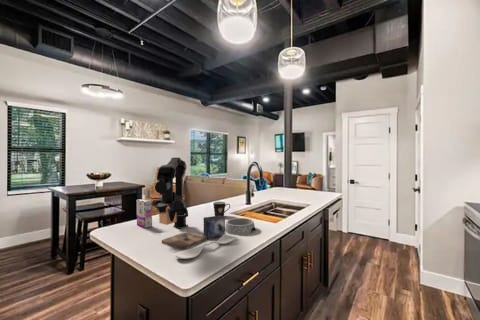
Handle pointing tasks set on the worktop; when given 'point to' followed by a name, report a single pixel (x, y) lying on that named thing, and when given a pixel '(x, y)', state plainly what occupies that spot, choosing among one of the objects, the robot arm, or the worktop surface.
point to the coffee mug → (220, 208)
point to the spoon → (195, 251)
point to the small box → (214, 227)
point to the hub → (166, 218)
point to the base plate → (184, 240)
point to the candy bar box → (144, 213)
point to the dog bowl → (239, 226)
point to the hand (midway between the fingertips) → (167, 220)
